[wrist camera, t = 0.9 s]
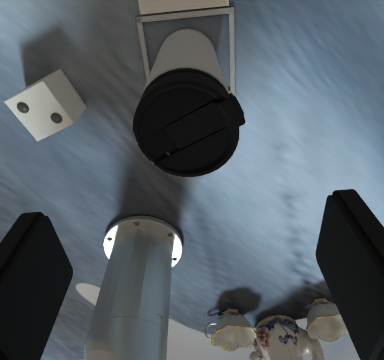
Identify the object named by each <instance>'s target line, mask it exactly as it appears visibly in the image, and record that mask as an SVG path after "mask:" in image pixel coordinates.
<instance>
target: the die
mask: <svg viewBox="0 0 384 360" xmlns="http://www.w3.org/2000/svg"><path fill="white" fill-rule="evenodd" d="M5 103H6V104H7V106H8V107H9V108H10V109H11V110H12V112H13V113H14V114H15V115H16V116H17V118H18V119H19V120H20V121H21V122H22V124H23V125H24V126H25V127H26V128H27V130H28V131H29V132H30V133H31V134H32V135H33V137H34V138H35V139H36V140H37V141H39V140H41V139H44V138H46V137H48V136H50V135H52V134H54V133H56V132H58V131H60V130H62V129H64V128H66V127H68V126H70V125H72V124H74V123H75V122H76V121H77V119H78V118H79V117H80V115H81V114H82V113H83V112H84V110H85V109H86V108H87V106H86V105H85V104H84V102H83V101H82V99H81V98H80V96H79V95H78V93H77V92H76V90H75V89H74V88H73V86H72V85H71V83H70V82H69V80H68V79H67V77H66V76H65V74H64V73H63V72H62V70H61V69H58V70H56V71H55V72H53V73H51V74H49V75H47V76H46V77H44V78H42V79H40V80H38V81H36V82H35V83H33V84H31V85H29V86H27V87H26V88H24V89H23V90H21V91H20V92H18V93H17V94H15V95H14V96H12V97H11V98H9V99H8V100H6V101H5Z"/></svg>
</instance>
